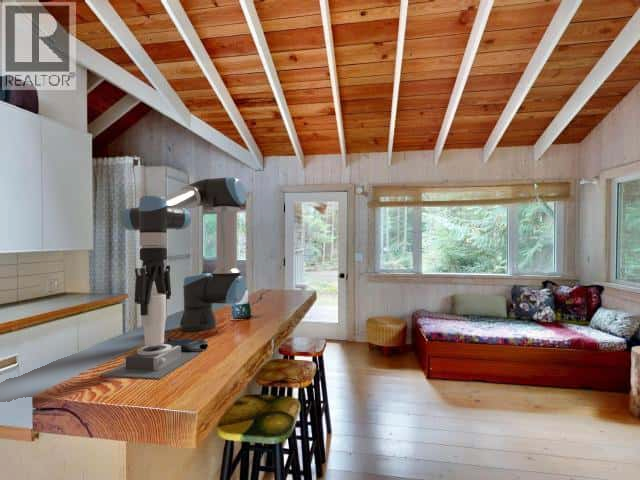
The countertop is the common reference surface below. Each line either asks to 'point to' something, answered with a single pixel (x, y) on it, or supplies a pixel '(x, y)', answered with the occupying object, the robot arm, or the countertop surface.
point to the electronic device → (187, 344)
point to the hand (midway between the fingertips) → (154, 323)
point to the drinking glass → (156, 321)
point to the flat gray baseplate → (152, 362)
